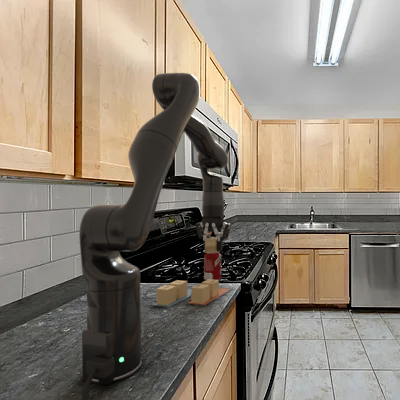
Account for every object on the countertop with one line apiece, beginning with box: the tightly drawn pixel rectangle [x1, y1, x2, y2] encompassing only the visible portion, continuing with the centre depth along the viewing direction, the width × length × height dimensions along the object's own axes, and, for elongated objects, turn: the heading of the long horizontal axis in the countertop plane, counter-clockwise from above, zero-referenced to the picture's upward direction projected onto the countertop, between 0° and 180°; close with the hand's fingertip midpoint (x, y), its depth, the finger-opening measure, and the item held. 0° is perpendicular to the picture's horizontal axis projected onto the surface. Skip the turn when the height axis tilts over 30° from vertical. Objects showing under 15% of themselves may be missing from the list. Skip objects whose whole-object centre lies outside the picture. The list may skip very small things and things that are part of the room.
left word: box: [151, 279, 191, 308], centre depth 105 cm, size 18×6×5 cm, turn 165°
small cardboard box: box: [204, 236, 217, 253], centre depth 112 cm, size 4×4×5 cm
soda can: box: [203, 252, 222, 281], centre depth 127 cm, size 7×7×12 cm
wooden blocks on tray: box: [188, 279, 231, 306], centre depth 107 cm, size 17×6×5 cm, turn 165°
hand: (213, 250), depth 112 cm, fingers closed on small cardboard box, 4 cm apart
